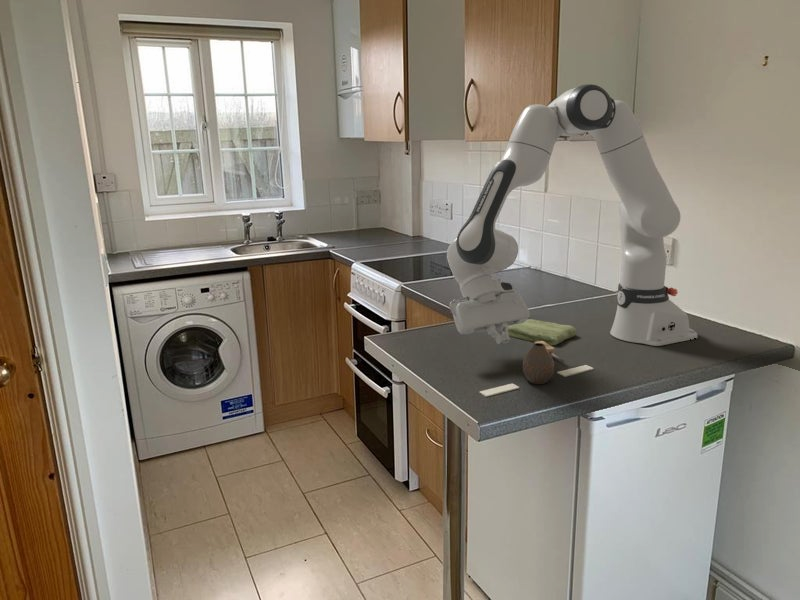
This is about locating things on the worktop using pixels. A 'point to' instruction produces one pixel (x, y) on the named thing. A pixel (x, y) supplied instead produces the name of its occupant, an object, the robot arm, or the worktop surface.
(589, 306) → the worktop surface
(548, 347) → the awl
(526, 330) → the washcloth
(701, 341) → the worktop surface
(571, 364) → the worktop surface
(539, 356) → the vase
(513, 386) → the beige flat strips
